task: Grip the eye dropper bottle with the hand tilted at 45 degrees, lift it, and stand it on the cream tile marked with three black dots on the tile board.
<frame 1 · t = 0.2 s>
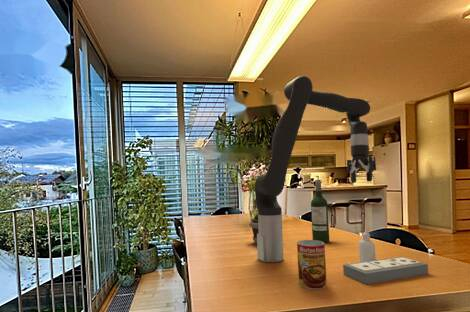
hand: (361, 181, 132), 29 cm above the table, tool pointing down, fingers open, 8 cm apart
flowerpot: (265, 243, 146), on the table
canned food: (312, 285, 88), on the table
wine bottle: (321, 241, 147), on the table
tile board: (385, 274, 95), on the table
eye dropper bottle: (367, 264, 107), on the table
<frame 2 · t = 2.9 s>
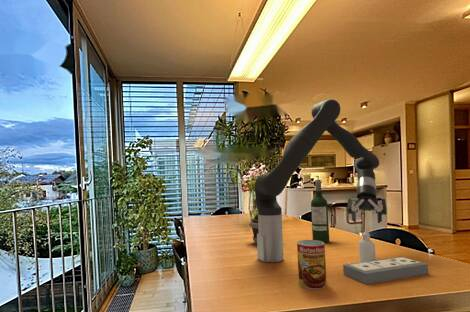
hand: (366, 221, 116), 14 cm above the table, tool tilted 45°, fingers open, 8 cm apart
nothing on the table moved.
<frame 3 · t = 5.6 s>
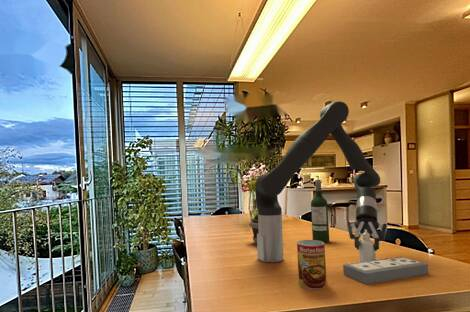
hand: (366, 248, 106), 6 cm above the table, tool tilted 45°, fingers closed on eye dropper bottle, 5 cm apart
eye dropper bottle: (367, 264, 107), on the table, touching gripper
everything else where it was.
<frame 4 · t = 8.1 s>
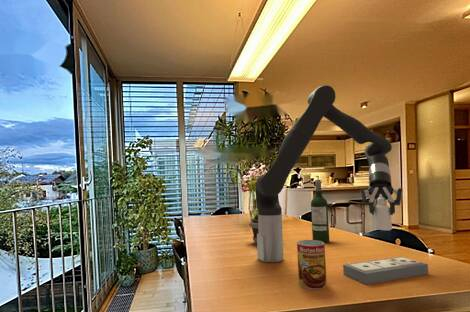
hand: (382, 213, 103), 18 cm above the table, tool tilted 45°, fingers closed on eye dropper bottle, 5 cm apart
eye dropper bottle: (383, 229, 104), point 12 cm above the table, touching gripper
everything else where it was.
when the fingers open (10 cm above the table, at t = 10.4 s): eye dropper bottle stays where it is, resting on tile board.
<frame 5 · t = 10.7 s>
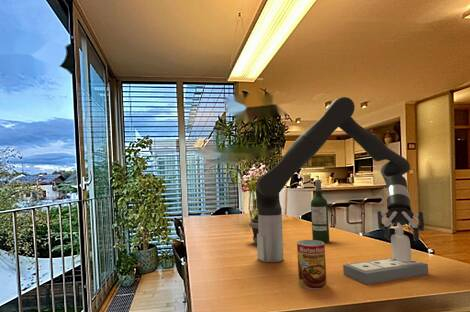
hand: (401, 239, 97), 10 cm above the table, tool tilted 45°, fingers open, 7 cm apart
eye dropper bottle: (402, 260, 98), point 3 cm above the table, touching tile board
everything else where it was.
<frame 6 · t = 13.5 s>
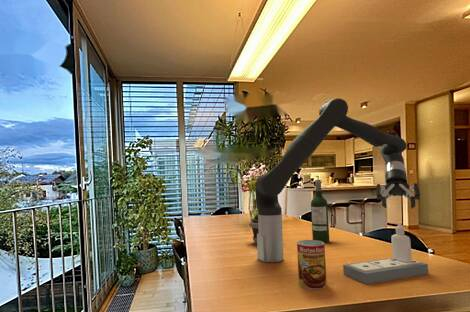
hand: (398, 206, 109), 20 cm above the table, tool tilted 45°, fingers open, 8 cm apart
nothing on the table moved.
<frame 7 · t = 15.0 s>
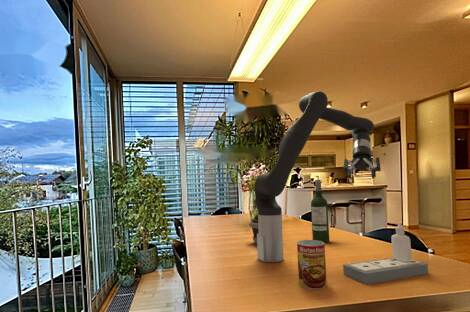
hand: (361, 177, 122), 31 cm above the table, tool tilted 45°, fingers open, 8 cm apart
nothing on the table moved.
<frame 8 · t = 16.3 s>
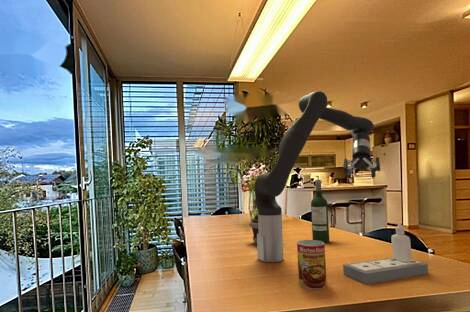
hand: (361, 177, 123), 31 cm above the table, tool tilted 45°, fingers open, 8 cm apart
nothing on the table moved.
at the end: eye dropper bottle inside the target area on the tile board (0.4 cm from its centre), point 3.1 cm above the tile board's base; eye dropper bottle tilted 0°; the gripper is holding nothing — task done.
